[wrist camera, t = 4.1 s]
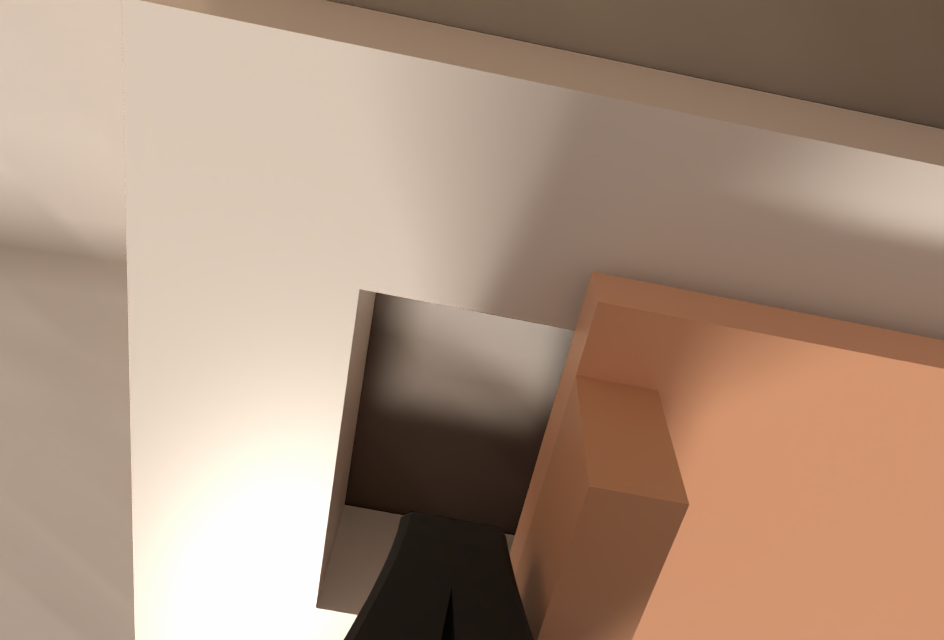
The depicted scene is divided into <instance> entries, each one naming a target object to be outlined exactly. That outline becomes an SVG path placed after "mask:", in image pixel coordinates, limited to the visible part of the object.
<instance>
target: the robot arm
mask: <svg viewBox="0 0 944 640" xmlns="http://www.w3.org/2000/svg"><path fill="white" fill-rule="evenodd" d="M344 640H534V639H533V635H532V632H531V629H530V626H529V623H528V620H527V617H526V614H525V610H524V607H523V604H522V600H521V597H520V594H519V590H518V587H517V583H516V579H515V575H514V571H513V567H512V563H511V559H510V554H509V550H508V545H507V539H506V535H505V534H504V533H503V531H502V530H501V529H500V528H499V527H494V526H488V525H482V524H477V523H471V522H466V521H460V520H454V519H449V518H443V517H438V516H432V515H427V514H421V513H415V512H410V513H408V514H406V515H404V516H402V517H401V518H400V522H399V526H398V530H397V533H396V536H395V539H394V542H393V545H392V547H391V550H390V552H389V555H388V557H387V559H386V561H385V564H384V566H383V568H382V570H381V572H380V574H379V576H378V578H377V580H376V582H375V584H374V586H373V588H372V590H371V592H370V594H369V596H368V598H367V600H366V601H365V603H364V605H363V607H362V608H361V610H360V612H359V614H358V615H357V617H356V619H355V621H354V622H353V624H352V626H351V628H350V629H349V631H348V633H347V635H346V637H345V638H344Z"/></svg>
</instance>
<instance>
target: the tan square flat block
mask: <svg viewBox="0 0 944 640" xmlns="http://www.w3.org/2000/svg"><path fill="white" fill-rule="evenodd" d="M510 559H511V563H512V567H513V571H514V575H515V579H516V583H517V587H518V590H519V594H520V597H521V600H522V604H523V607H524V610H525V614H526V617H527V620H528V623H529V626H530V629H531V632H532V635H533V639H534V640H944V340H939V339H934V338H929V337H924V336H918V335H913V334H908V333H903V332H898V331H893V330H888V329H883V328H878V327H872V326H867V325H862V324H857V323H852V322H847V321H842V320H837V319H832V318H827V317H821V316H816V315H811V314H806V313H801V312H796V311H791V310H786V309H781V308H776V307H770V306H765V305H760V304H755V303H750V302H745V301H740V300H735V299H730V298H725V297H719V296H714V295H709V294H704V293H699V292H694V291H689V290H684V289H679V288H674V287H668V286H663V285H658V284H653V283H648V282H643V281H638V280H633V279H628V278H623V277H617V276H612V275H607V274H602V273H597V272H592V274H591V277H590V280H589V284H588V287H587V291H586V294H585V298H584V301H583V304H582V308H581V311H580V315H579V318H578V321H577V325H576V328H575V332H574V335H573V339H572V342H571V345H570V349H569V352H568V356H567V359H566V363H565V366H564V369H563V373H562V376H561V380H560V383H559V386H558V390H557V393H556V397H555V400H554V404H553V407H552V410H551V414H550V417H549V421H548V424H547V427H546V431H545V434H544V438H543V441H542V445H541V448H540V451H539V455H538V458H537V462H536V465H535V469H534V472H533V475H532V479H531V482H530V486H529V489H528V492H527V496H526V499H525V503H524V506H523V510H522V513H521V516H520V520H519V523H518V527H517V530H516V534H515V537H514V540H513V544H512V547H511V551H510Z"/></svg>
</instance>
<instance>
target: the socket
mask: <svg viewBox="0 0 944 640" xmlns="http://www.w3.org/2000/svg"><path fill="white" fill-rule="evenodd" d="M121 2H122V49H123V95H124V142H125V189H126V236H127V283H128V330H129V376H130V423H131V470H132V517H133V564H134V611H135V640H344V638H345V637H346V635H347V633H348V631H349V629H350V628H351V626H352V624H353V622H354V621H355V619H356V617H357V615H358V614H359V612H360V610H361V608H362V607H363V605H364V603H365V601H366V600H367V598H368V596H369V594H370V592H371V590H372V588H373V586H374V584H375V582H376V580H377V578H378V576H379V574H380V572H381V570H382V568H383V566H384V564H385V561H386V559H387V557H388V555H389V552H390V550H391V547H392V545H393V542H394V539H395V536H396V533H397V530H398V526H399V522H400V518H401V517H402V516H404V515H399V514H393V513H388V512H382V511H376V510H371V509H365V508H360V507H354V506H348V505H345V498H346V491H347V485H348V478H349V471H350V464H351V458H352V451H353V444H354V438H355V431H356V424H357V417H358V411H359V404H360V397H361V390H362V384H363V377H364V370H365V364H366V357H367V350H368V343H369V337H370V330H371V323H372V316H373V310H374V303H375V296H376V292H377V293H382V294H387V295H393V296H398V297H403V298H408V299H413V300H419V301H424V302H429V303H434V304H439V305H445V306H450V307H455V308H460V309H465V310H471V311H476V312H481V313H486V314H491V315H497V316H502V317H507V318H512V319H517V320H523V321H528V322H533V323H538V324H543V325H549V326H554V327H559V328H564V329H569V330H575V328H576V325H577V321H578V318H579V315H580V311H581V308H582V304H583V301H584V298H585V294H586V291H587V287H588V284H589V280H590V277H591V274H592V272H597V273H602V274H607V275H612V276H617V277H623V278H628V279H633V280H638V281H643V282H648V283H653V284H658V285H663V286H668V287H674V288H679V289H684V290H689V291H694V292H699V293H704V294H709V295H714V296H719V297H725V298H730V299H735V300H740V301H745V302H750V303H755V304H760V305H765V306H770V307H776V308H781V309H786V310H791V311H796V312H801V313H806V314H811V315H816V316H821V317H827V318H832V319H837V320H842V321H847V322H852V323H857V324H862V325H867V326H872V327H878V328H883V329H888V330H893V331H898V332H903V333H908V334H913V335H918V336H924V337H929V338H934V339H939V340H944V129H939V128H934V127H929V126H925V125H920V124H915V123H910V122H905V121H901V120H896V119H891V118H886V117H882V116H877V115H872V114H867V113H862V112H858V111H853V110H848V109H843V108H839V107H834V106H829V105H824V104H819V103H815V102H810V101H805V100H800V99H795V98H791V97H786V96H781V95H776V94H772V93H767V92H762V91H757V90H752V89H748V88H743V87H738V86H733V85H729V84H724V83H719V82H714V81H709V80H705V79H700V78H695V77H690V76H685V75H681V74H676V73H671V72H666V71H662V70H657V69H652V68H647V67H642V66H638V65H633V64H628V63H623V62H619V61H614V60H609V59H604V58H599V57H595V56H590V55H585V54H580V53H576V52H571V51H566V50H561V49H556V48H552V47H547V46H542V45H537V44H532V43H528V42H523V41H518V40H513V39H509V38H504V37H499V36H494V35H489V34H485V33H480V32H475V31H470V30H466V29H461V28H456V27H451V26H446V25H442V24H437V23H432V22H427V21H422V20H418V19H413V18H408V17H403V16H399V15H394V14H389V13H384V12H379V11H375V10H370V9H365V8H360V7H356V6H351V5H346V4H341V3H336V2H332V1H327V0H121ZM504 534H505V533H504ZM505 535H506V539H507V545H508V550H509V554H510V551H511V547H512V544H513V540H514V537H515V535H510V534H505Z"/></svg>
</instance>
